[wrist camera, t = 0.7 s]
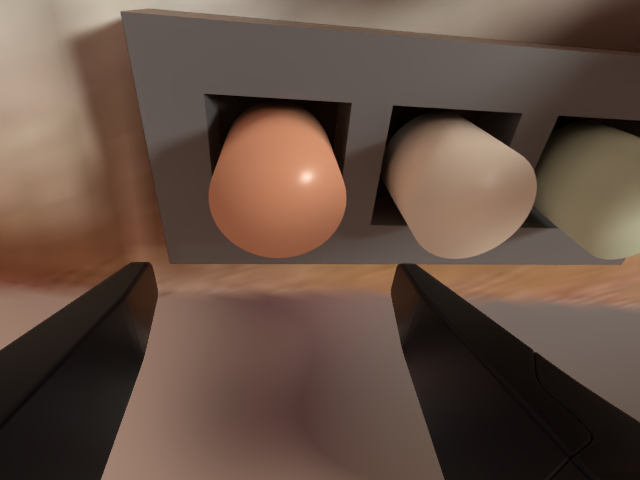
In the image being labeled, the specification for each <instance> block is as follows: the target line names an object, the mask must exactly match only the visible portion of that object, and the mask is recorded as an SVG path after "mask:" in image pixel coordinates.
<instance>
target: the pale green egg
mask: <svg viewBox="0 0 640 480" xmlns="http://www.w3.org/2000/svg"><path fill="white" fill-rule="evenodd" d="M534 172H535V176H536V181H537V191H536V197H535V201H534V204H533V206H532V207H534V208H535V209H536V210H537V211H538V212H540V213H541V214H542V215H543V216H545V217H546V218H547V219H548V220H549V221H551V222H552V223H553V224H554V225H555V226H557V227H558V228H559V229H560V230H562V231H563V232H564V233H565V234H566V235H568V236H569V237H570V238H571V239H573V240H574V241H575V242H576V243H577V244H579V245H580V246H581V247H582V248H583V249H585V250H586V251H587V252H588V253H590V254H591V255H593V256H595V257H597V258H601V259H609V260H612V259H622V258H626V257H630V256H633V255H636V254H639V253H640V138H639V137H637V136H634V135H632V134H629V133H627V132H624V131H621V130H619V129H616V128H614V127H611V126H608V125H606V124H603V123H601V122H598V121H593V120H581V121H576V122H572V123H569V124H566V125H564V126H562V127H560V128H558V129H556V130H555V131H553V132H552V133H551V134H550V136H549V138H548V141H547V143H546V145H545V147H544V150H543V152H542V154H541V156H540V159H539V161H538V163H537V165H536V168H535V170H534Z"/></svg>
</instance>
